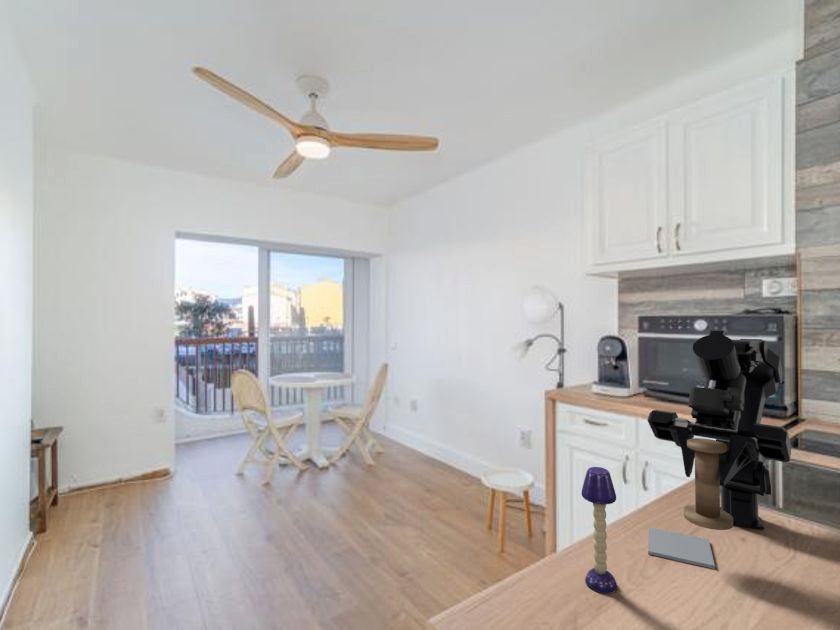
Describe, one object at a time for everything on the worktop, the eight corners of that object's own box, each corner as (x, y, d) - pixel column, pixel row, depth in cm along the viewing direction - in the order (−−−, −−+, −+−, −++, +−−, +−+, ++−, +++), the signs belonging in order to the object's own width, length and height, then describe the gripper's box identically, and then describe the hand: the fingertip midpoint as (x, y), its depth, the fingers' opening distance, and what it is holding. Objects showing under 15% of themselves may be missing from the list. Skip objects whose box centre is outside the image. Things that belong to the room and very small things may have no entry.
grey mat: (649, 530, 78) (649, 527, 78) (708, 542, 74) (708, 539, 74) (648, 554, 70) (648, 550, 70) (714, 569, 66) (714, 565, 66)
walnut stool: (688, 507, 72) (687, 435, 72) (735, 518, 68) (734, 442, 68) (679, 521, 67) (678, 443, 67) (730, 534, 63) (728, 452, 63)
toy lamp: (621, 597, 59) (619, 476, 59) (585, 593, 60) (584, 474, 60) (613, 577, 64) (611, 464, 64) (580, 573, 65) (578, 462, 65)
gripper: (650, 364, 77) (626, 438, 69) (786, 373, 63) (775, 466, 56) (666, 401, 82) (645, 474, 75) (795, 417, 69) (785, 508, 61)
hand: (704, 479), depth 66 cm, fingers closed on walnut stool, 4 cm apart
